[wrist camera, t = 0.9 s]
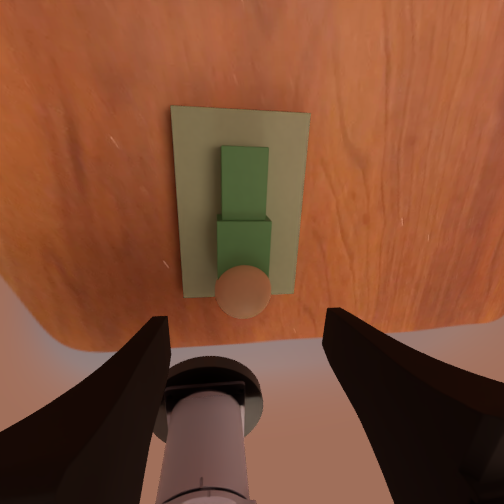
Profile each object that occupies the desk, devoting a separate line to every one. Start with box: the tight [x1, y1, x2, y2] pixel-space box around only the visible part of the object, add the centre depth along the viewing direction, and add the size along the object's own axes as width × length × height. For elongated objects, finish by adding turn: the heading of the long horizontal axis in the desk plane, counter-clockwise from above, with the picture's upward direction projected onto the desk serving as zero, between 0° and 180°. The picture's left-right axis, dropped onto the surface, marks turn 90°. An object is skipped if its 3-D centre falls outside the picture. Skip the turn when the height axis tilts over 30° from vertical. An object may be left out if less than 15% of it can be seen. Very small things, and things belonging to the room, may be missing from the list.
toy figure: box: [215, 145, 272, 319], centre depth 15 cm, size 10×4×4 cm, turn 178°
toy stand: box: [170, 105, 311, 298], centre depth 17 cm, size 12×8×1 cm, turn 178°
